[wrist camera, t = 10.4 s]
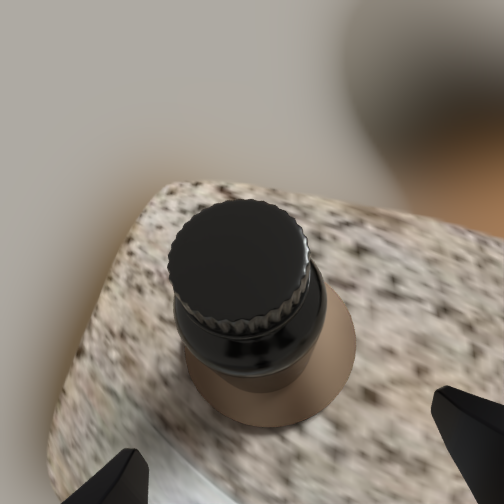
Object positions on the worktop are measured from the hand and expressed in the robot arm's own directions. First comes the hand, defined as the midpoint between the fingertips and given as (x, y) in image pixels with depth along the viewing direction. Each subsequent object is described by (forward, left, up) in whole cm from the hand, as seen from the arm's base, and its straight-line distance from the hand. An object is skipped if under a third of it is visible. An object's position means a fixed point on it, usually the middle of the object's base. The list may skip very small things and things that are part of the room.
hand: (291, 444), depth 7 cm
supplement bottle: (+2, +6, -12) cm, 13 cm away
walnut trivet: (+2, +6, -12) cm, 14 cm away
